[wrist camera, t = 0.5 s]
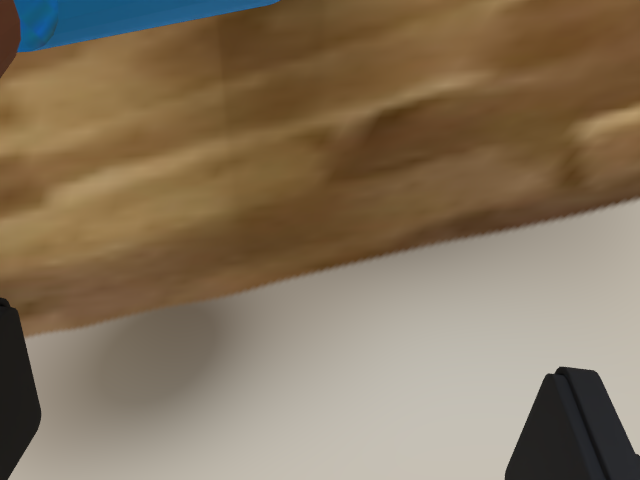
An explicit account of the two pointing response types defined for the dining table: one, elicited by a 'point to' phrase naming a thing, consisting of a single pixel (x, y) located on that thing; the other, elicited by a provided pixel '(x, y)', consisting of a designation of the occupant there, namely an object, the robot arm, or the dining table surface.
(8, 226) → the dining table surface
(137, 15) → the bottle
